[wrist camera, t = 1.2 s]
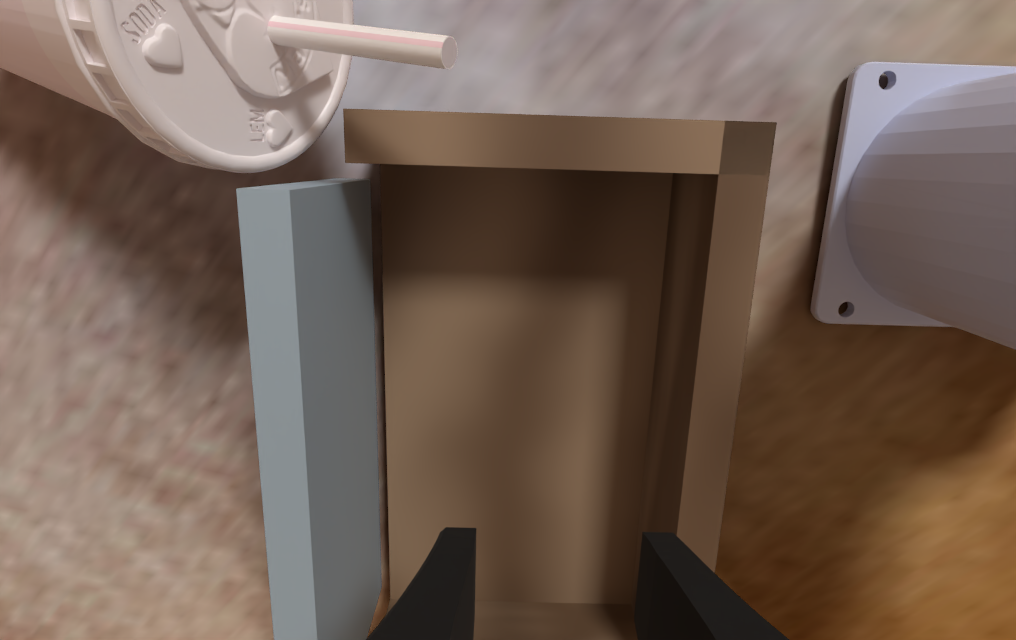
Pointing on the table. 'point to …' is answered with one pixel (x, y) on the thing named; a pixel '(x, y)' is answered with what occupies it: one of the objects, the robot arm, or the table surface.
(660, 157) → the box
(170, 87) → the smoothie
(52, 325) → the table surface
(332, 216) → the panel
